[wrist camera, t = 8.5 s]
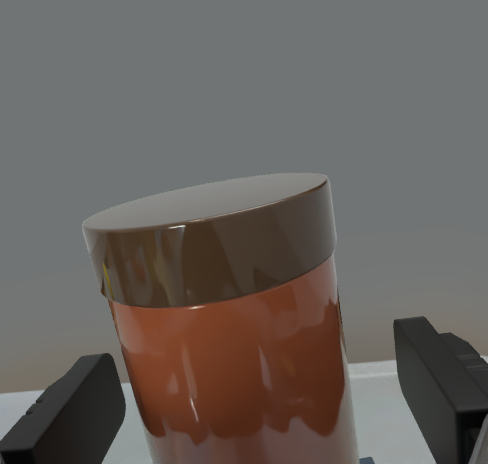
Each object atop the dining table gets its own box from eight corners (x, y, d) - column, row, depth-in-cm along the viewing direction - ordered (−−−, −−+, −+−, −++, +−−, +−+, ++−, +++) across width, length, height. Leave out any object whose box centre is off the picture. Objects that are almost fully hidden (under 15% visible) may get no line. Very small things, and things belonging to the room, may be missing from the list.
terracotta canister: (174, 720, 9) (21, 247, 6) (210, 507, 14) (134, 195, 11) (409, 719, 8) (352, 195, 6) (358, 497, 13) (315, 165, 11)
